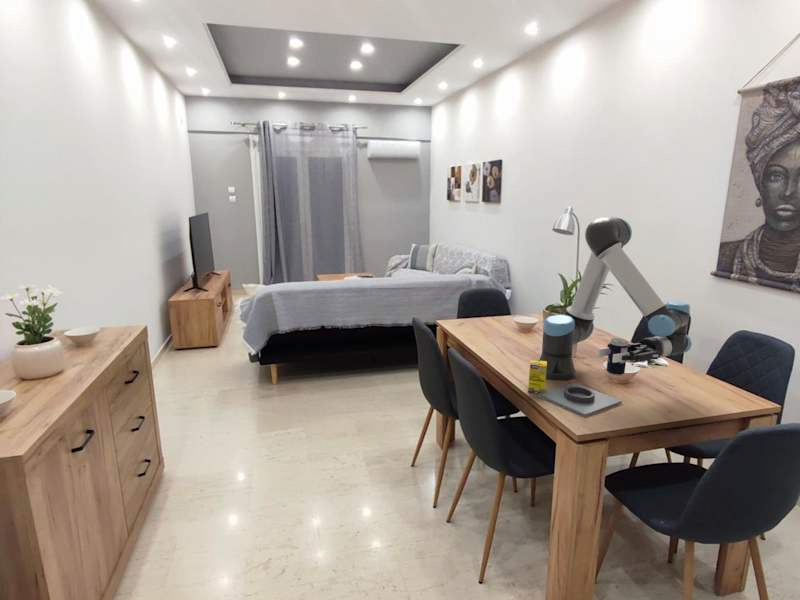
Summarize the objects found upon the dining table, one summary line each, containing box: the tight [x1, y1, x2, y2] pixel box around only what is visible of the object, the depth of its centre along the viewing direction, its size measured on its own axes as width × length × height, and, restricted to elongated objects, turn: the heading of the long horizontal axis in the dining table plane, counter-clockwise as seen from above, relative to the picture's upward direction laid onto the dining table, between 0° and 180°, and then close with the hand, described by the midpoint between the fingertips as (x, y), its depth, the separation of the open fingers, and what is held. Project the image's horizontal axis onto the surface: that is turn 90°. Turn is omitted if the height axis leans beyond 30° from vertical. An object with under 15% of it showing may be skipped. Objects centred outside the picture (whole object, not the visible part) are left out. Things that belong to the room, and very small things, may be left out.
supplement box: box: [527, 359, 547, 394], centre depth 174 cm, size 6×6×11 cm
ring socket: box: [537, 382, 623, 418], centre depth 167 cm, size 20×20×3 cm
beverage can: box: [606, 337, 628, 377], centre depth 161 cm, size 6×6×12 cm
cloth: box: [626, 358, 670, 369], centre depth 209 cm, size 22×19×6 cm
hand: (606, 355), depth 158 cm, fingers closed on beverage can, 6 cm apart
